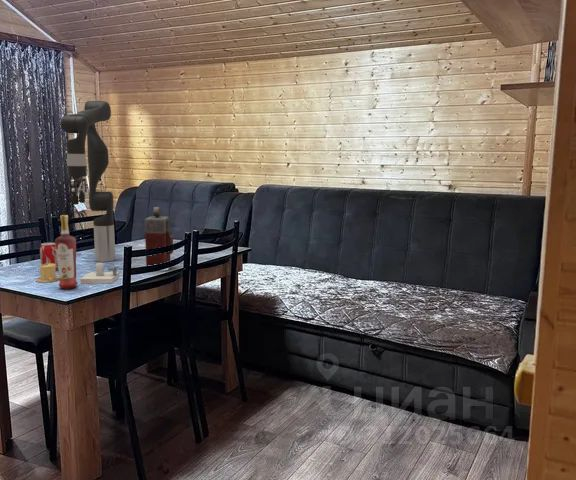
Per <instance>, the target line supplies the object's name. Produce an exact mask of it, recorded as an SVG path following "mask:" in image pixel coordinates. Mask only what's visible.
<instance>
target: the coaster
mask: <svg viewBox="0 0 576 480" xmlns="http://www.w3.org/2000/svg"><path fill="white" fill-rule="evenodd" d="M35 280H36V281H35V282H37V283H45V284H46V283H48V284H49V283H53V282H54V283H55V282H58V281H59V282H60V280H59V275H58V276H57V275H56V279H53V281H49V280H41V276H40V277H38V278H36V279H35Z"/></svg>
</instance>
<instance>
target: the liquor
mask: <svg viewBox="0 0 576 480" xmlns="http://www.w3.org/2000/svg"><path fill="white" fill-rule="evenodd" d="M59 218H60V223H61V228H60V236H58V237H56V238H55V239H54V241H55V242H54V243H55V245H56V254H57V261H58V269H57V270H58V277H59V284H58V287H60V288H61V289H62V290H71V289H74V288H75V287H76V286H78V285H79V283H78V280H77V238H75V237H74V236H73V235H70V230H69V228H70V227H69V215H68V214H62V215H59Z"/></svg>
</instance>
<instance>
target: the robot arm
mask: <svg viewBox="0 0 576 480" xmlns="http://www.w3.org/2000/svg"><path fill="white" fill-rule="evenodd" d="M111 115H112V107H111V105H110V103H109V102H107V101H106V100H105V101H104V100H87V101H86V102H85V104H84V108H83V109H82V110H80V111H79V112H76V113H72V114H71V113H70V114H67V115H65V116H63V117H62V118H61V120H60V128H61V130H62V131H63V132H64V133H66V134H77V136H76V137H75V138H71V139H68V140H66V154H67V156H66V165H67V166H66V167H67V168H66V169H67V176H68V177H71V178H72V179H69V181H68V182H69V183H68V184H69V194H70V195H71V198H72V205H73V206H75V205H79V203H80V204H83V203H84V204H85V203H86V193H87V192H88V204H89V205H88V206H89V209H90V210H91V212H106V213H105V214H104V215H101V216H100V217H96V218H94V219H93V221H92V222H93V238H94V260H95V262H97V263H105V262H113V261H115V260H116V243H115V241H116V240H115V222H114V194H113V192H111V191H97V186H98V184H99V182H100V179H101V178H102V176H103V175H104V173H105V171H107V168H108V166H109V163H110V161H109V149H108V147H107V145H106V143H105V142H104V140H103V139H102V138H101V136H100V135H99V132H98V130H97V128H96V125H95V124H97V123H100V122H106V121H108V120H110V118H111V117H112V116H111ZM86 139H87V141H86ZM86 142H87V144H86ZM86 145H87V156H86ZM87 165H88V166H87ZM87 167H88V169H87ZM87 176H88V190H87V179H86V178H85V177H87Z"/></svg>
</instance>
